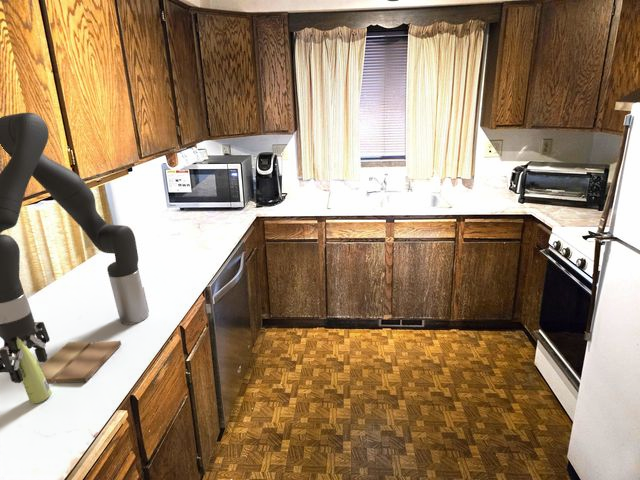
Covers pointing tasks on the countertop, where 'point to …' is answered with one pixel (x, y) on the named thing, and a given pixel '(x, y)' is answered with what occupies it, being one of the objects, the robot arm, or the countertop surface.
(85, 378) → the plank
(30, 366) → the tube
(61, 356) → the oak board
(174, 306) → the countertop surface
